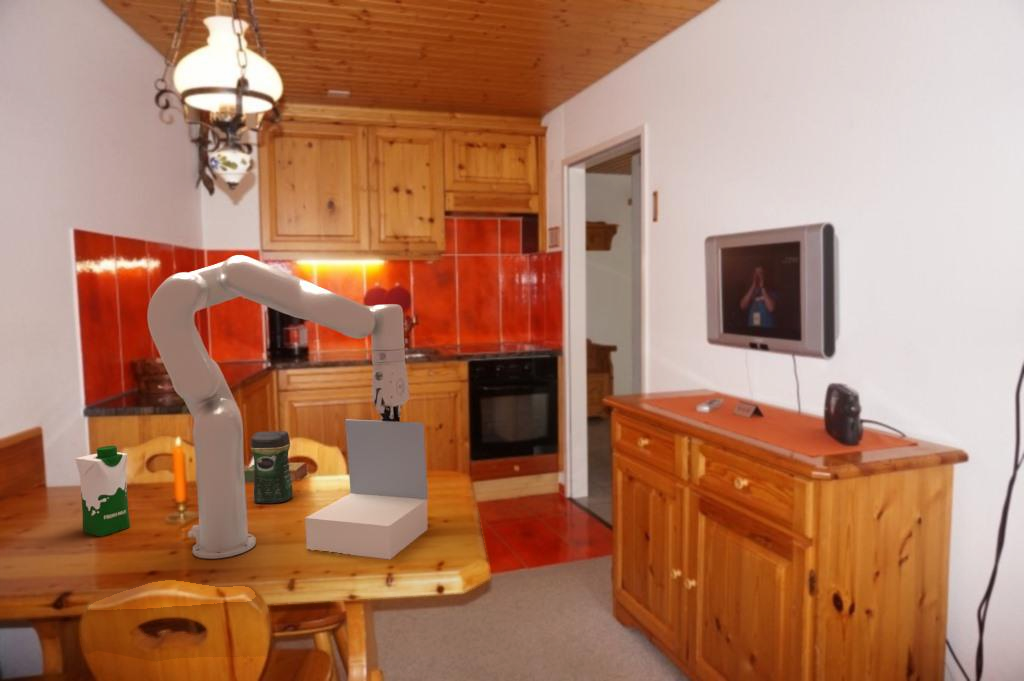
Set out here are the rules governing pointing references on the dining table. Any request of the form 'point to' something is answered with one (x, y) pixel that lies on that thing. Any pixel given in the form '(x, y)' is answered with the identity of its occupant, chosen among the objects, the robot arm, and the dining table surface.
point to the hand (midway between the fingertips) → (391, 433)
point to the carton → (295, 469)
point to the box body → (367, 525)
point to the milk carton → (104, 491)
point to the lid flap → (386, 458)
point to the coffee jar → (271, 467)
